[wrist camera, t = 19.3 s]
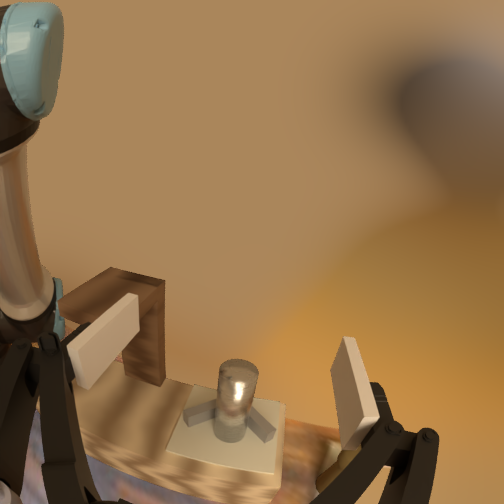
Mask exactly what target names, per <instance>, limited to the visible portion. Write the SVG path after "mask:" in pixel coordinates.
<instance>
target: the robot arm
mask: <svg viewBox="0 0 504 504" xmlns="http://www.w3.org/2000/svg"><path fill="white" fill-rule="evenodd" d="M63 39H64V24H63V16H62V12H61V11H60V9H59V8H58V7H57V6H56V5H55V4H53V3H48V2H29V3H22V2H18V3H15V4H12V5H7V6H2V7H0V504H22V501H21V499H20V498H19V497H20V494H21V490H22V485H23V477H24V468H25V461H26V454H27V448H28V442H29V436H30V431H31V426H32V422H33V417H34V413H35V409H36V405H37V401H38V397H39V402H40V422H41V434H42V444H43V452H44V459H45V463H43V464H42V466H41V468H42V475H43V481H44V486H45V491H46V495H47V499H48V503H49V504H132V503H130V502H128V501H125V500H123V499H121V498H120V499H119V501H118V502H116V501H102V500H101V498H100V496H99V494H98V492H97V490H96V488H95V485H94V482H93V479H92V475H91V472H90V469H89V465H88V462H87V458H86V454H85V450H84V446H83V441H82V437H81V432H80V427H79V422H78V417H77V411H76V404H75V398H74V390H73V384H72V380H73V379H74V378H76V381H77V384H78V385H79V386H81V387H83V388H85V389H87V390H89V389H90V388H91V387H92V385H93V384H94V383H95V382H96V381H97V379H98V378H99V377H100V376H101V375H102V374H103V372H104V371H105V370H106V369H107V368H108V366H109V365H110V364H111V363H112V362H113V361H114V359H115V358H116V357H117V356H118V355H119V354H120V352H121V351H122V350H123V349H124V348H125V347H126V345H127V344H128V343H129V342H130V341H131V340H132V339H133V337H134V336H135V335H136V334H137V333H138V332H139V331H140V327H139V305H138V295H135V294H131V293H127V294H126V295H125V296H124V297H123V298H121V299H120V300H119V301H118V302H117V303H115V304H114V305H113V306H112V307H111V308H109V309H108V310H107V311H106V312H105V313H103V314H102V315H101V316H100V317H99V318H98V319H96V320H95V321H94V322H93V323H90V322H87V323H84V324H82V325H80V326H79V327H78V328H77V329H76V330H74V331H73V332H72V334H70V335H68V336H67V337H66V338H65V339H64V340H62V339H63V338H64V337H65V321H64V317H61V316H60V314H59V309H58V303H57V300H59V299H60V298H62V297H63V286H62V281H61V279H58V278H54V277H53V278H52V277H51V275H50V273H49V271H48V270H47V269H46V268H45V267H44V266H43V265H41V264H40V260H39V255H38V250H37V246H36V241H35V235H34V229H33V223H32V215H31V208H30V199H29V189H28V175H27V143H28V142H29V141H30V140H31V139H32V138H33V137H34V135H35V134H36V133H37V131H38V129H39V123H40V120H41V119H42V118H44V117H46V116H47V115H49V113H50V112H51V111H52V108H53V106H54V103H55V98H56V95H57V88H58V80H59V76H60V71H61V62H62V52H63ZM60 340H62V341H61V342H60ZM36 342H38V345H39V348H36V347H32V344H31V343H36ZM11 344H12V345H11ZM331 376H332V382H333V389H334V395H335V402H336V409H337V416H338V423H339V431H340V439H341V447H342V450H356V449H357V448H358V447H359V445H360V444H361V448H362V449H361V450H360V452H359V453H358V454H357V455H356V456H355V457H354V459H353V460H352V461H351V462H350V463H349V464H348V465H347V466H346V468H345V469H344V470H343V471H342V472H341V473H340V474H339V475H338V476H337V477H336V478H335V479H334V480H333V481H332V482H331V483H330V484H329V485H328V486H327V487H326V488H325V489H324V490H323V491H322V492H321V493H320V494H319V495H318V496H317V497H316V498H315V499H314V500H313V501H312V502H310V503H309V504H354V503H355V502H356V501H357V500H358V499H359V497H360V496H361V495H362V494H363V492H364V491H365V490H366V489H367V487H368V486H369V485H370V484H371V482H372V481H373V480H374V478H375V477H376V476H377V474H378V473H379V471H380V470H381V469H382V467H383V466H384V465H386V466H391V470H390V473H389V476H388V479H387V482H386V485H385V487H384V490H383V493H382V496H381V498H380V501H379V503H378V504H429V499H430V495H431V490H432V486H433V480H434V474H435V469H436V463H437V455H438V447H439V436H438V434H437V432H436V431H434V430H433V429H431V428H422V429H421V430H420V431H419V432H418V433H413V432H408V431H405V430H404V428H403V427H402V425H401V424H400V423H398V422H397V421H394V419H393V416H392V413H391V410H390V407H389V404H388V402H387V398H386V397H385V396H386V395H385V392H384V390H383V388H382V387H381V386H380V385H379V383H376V382H374V383H373V382H369V379H368V376H367V373H366V370H365V367H364V364H363V361H362V358H361V355H360V352H359V349H358V346H357V343H356V340H355V338H352V337H344V336H343V339H342V341H341V344H340V347H339V349H338V352H337V355H336V357H335V360H334V362H333V365H332V367H331Z"/></svg>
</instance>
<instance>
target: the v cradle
mask: <svg viewBox="0 0 504 504" xmlns="http://www.w3.org/2000/svg"><path fill="white" fill-rule="evenodd" d="M216 399H217V390H215V389H211V388H207V387H203V386H199V385H194V386H193V388H192V391H191V393H190V395H189V398H188V400H187V402H186V404H185V407H184V409H183V411H182V414H181V416H180V418H179V420H178V423H177V425H176V427H175V429H174V432H173V434H172V436H171V439H170V441H169V443H168V445H167V448H166V451H167V452H170V453H173V454H177V455H180V456H183V457H187V458H190V459H194V460H198V461H202V462H206V463H210V464H215V465H219V466H224V467H229V468H234V469H239V470H245V471H251V472H258V473H266V474H274V470H275V460H276V448H277V437H278V424H279V410H280V402H279V401H273V400H266V399H260V398H255V397H254V398H253V402H252V407H251V411H250V415H249V420H248V424H247V429H246V433H245V436H244V438H243V439H242V440H241V441H239V442H236V443H226V442H223V441H221V440H219V439H218V438H217V437H216V436H215V434H214V421H215V410H216Z"/></svg>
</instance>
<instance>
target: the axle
mask: <svg viewBox="0 0 504 504" xmlns="http://www.w3.org/2000/svg"><path fill="white" fill-rule="evenodd" d="M258 374H259V372H258V369H257V367H256V366H254V365H253V364H252V363H250V362H248V361H246V360H242V359H231V360H227V361H225V362H224V363H222V364H221V366H220V369H219V379H218V389H217V399H216V410H215V421H214V434H215V436H216V437H217V438H218V439H219V440H221V441H223V442H226V443H236V442H239V441H241V440H242V439H243V438H244V436H245V433H246V429H247V424H248V420H249V415H250V411H251V407H252V402H253V398H254V393H255V388H256V384H257V379H258Z"/></svg>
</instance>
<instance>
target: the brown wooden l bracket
mask: <svg viewBox="0 0 504 504" xmlns="http://www.w3.org/2000/svg"><path fill="white" fill-rule="evenodd" d="M127 293H131V294H135V295H138V305H139V327H140V331H139V332H138V333H137V334H136V335H135V336H134V337H133V339H132V340H131V341H130V342H129V343H128V344H127V345H126V347H125V348H124V349H123V350H122V357H123V364H124V371H125V375H126V376H129V377H131V378H134V379H137V380H140V381H143V382H146V383H149V384H152V385H155V386H158V387H161V385H162V384H163V382H164V380H165V378H166V372H165V334H164V333H165V332H164V330H165V329H164V318H165V280H162V279H157V278H153V277H149V276H144V275H140V274H136V273H132V272H128V271H124V270H120V269H116V268H112V267H110V268H108V269H107V270H105V271H103V272H102V273H100V274H98V275H97V276H95V277H94V278H92V279H90V280H89V281H87V282H85V283H84V284H82V285H81V286H79V287H78V288H76V289H75V290H73V291H71V292H70V293H68V294H67V295H65V296H64V297H62V298H60V299H59V300H57V303H58V309H59V314H60V316H61V317H64V318H66V319H68V320H71V321H73V322H75V323H78V324H80V325H82V324H84V323H87V322H90V323H93V322H94V321H95V320H96V319H98V318H99V317H100V316H101V315H102V314H103V313H105V312H106V311H107V310H108V309H109V308H111V307H112V306H113V305H114V304H115V303H117V302H118V301H119V300H120V299H121V298H123V297H124V296H125V295H126V294H127Z"/></svg>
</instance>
